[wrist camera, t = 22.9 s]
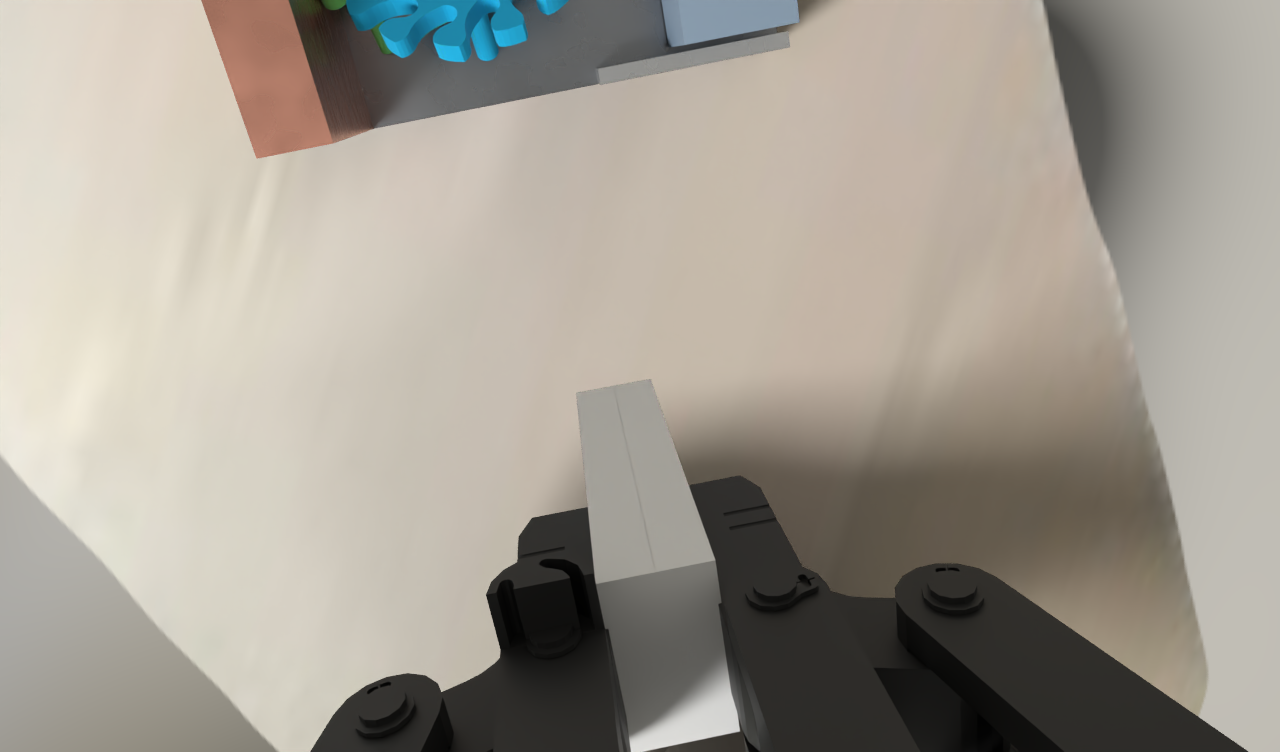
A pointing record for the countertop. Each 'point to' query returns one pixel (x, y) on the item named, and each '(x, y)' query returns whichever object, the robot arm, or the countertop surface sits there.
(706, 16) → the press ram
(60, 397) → the countertop surface
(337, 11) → the frame
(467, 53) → the gear
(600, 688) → the robot arm
